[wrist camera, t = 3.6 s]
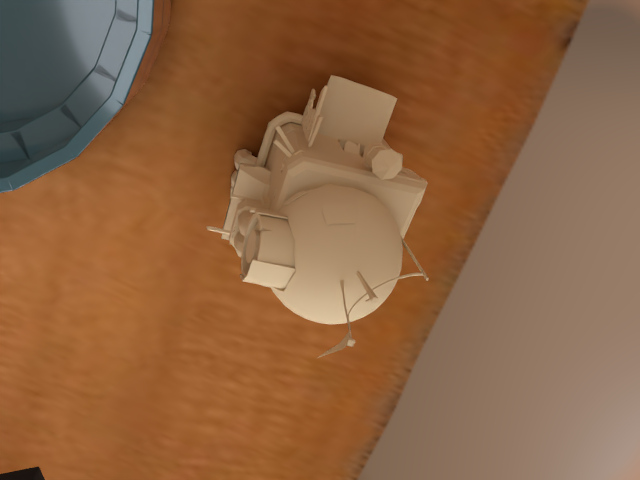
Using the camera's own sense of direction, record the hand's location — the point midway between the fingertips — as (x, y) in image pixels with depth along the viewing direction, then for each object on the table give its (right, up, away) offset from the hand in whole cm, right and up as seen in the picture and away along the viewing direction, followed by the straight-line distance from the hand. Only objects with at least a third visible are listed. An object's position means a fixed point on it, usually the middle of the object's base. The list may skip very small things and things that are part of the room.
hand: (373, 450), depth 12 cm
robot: (-2, +8, +18) cm, 20 cm away
